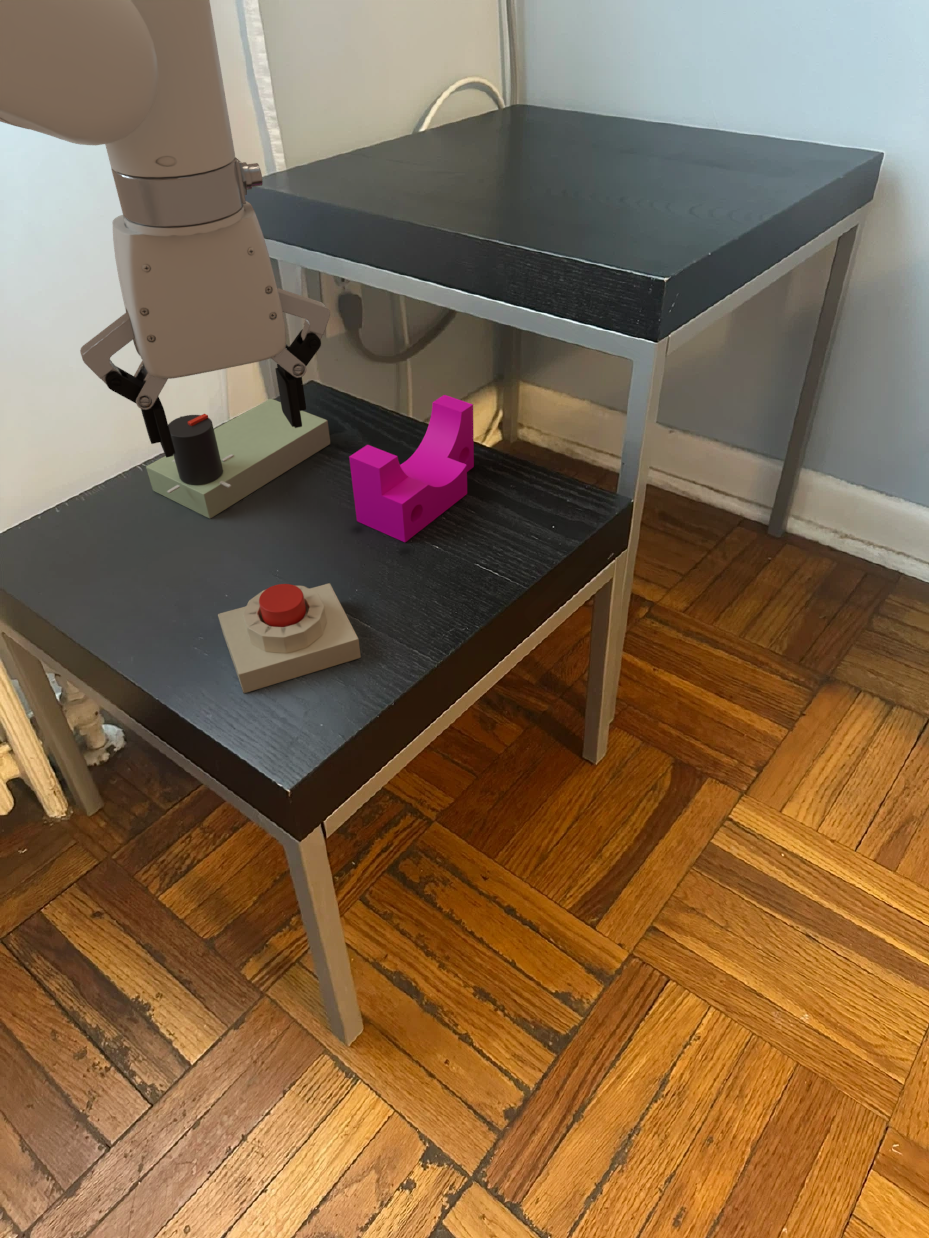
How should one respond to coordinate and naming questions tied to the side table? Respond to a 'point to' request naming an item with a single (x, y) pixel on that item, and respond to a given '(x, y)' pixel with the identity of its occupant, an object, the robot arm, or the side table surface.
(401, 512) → the toy block
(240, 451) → the dial panel
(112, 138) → the robot arm
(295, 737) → the side table surface
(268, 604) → the power button
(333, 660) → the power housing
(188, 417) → the timer dial
